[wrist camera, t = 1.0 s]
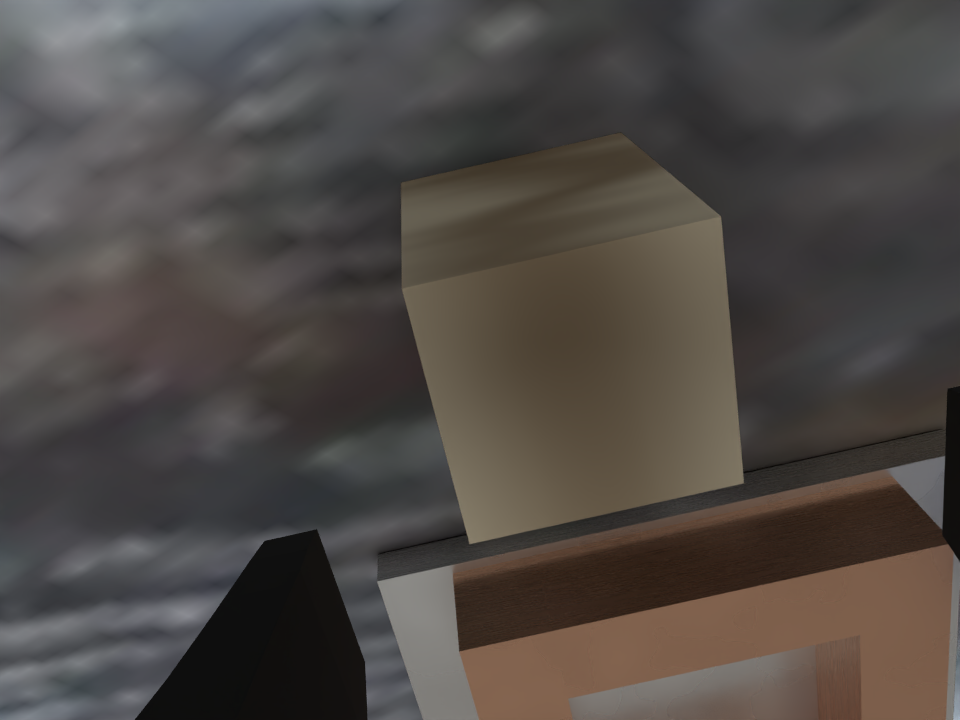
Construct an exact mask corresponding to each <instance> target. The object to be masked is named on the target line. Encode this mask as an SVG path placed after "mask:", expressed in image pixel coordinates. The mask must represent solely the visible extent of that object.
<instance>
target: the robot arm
mask: <svg viewBox="0 0 960 720" xmlns="http://www.w3.org/2000/svg"><path fill="white" fill-rule="evenodd" d="M942 535H943V537H944V539H945V540H946V542H947V543H948V545H949V546H950V548H951V549H952V551H953V552H954V554H955V555H956V557H957V558H958V560H959V562H960V386H958V387H954V388H949V389H948V392H947V418H946V445H945V471H944V498H943V524H942ZM135 720H367V697H366V676H365V661H364V658H363V655H362V653H361V650H360V647H359V644H358V642H357V639H356V636H355V633H354V631H353V628H352V625H351V622H350V619H349V617H348V614H347V611H346V608H345V606H344V603H343V600H342V597H341V595H340V592H339V589H338V586H337V583H336V581H335V578H334V575H333V572H332V570H331V567H330V564H329V561H328V559H327V556H326V553H325V550H324V547H323V545H322V542H321V539H320V536H319V534H318V531H317V529H316V530H312V531H308V532H303V533H299V534H294V535H290V536H285V537H281V538H276V539H272V540H267V541H264V542H263V544H262V545H261V547H260V548H259V549H258V551H257V552H256V553H255V555H254V556H253V558H252V559H251V560H250V562H249V563H248V565H247V566H246V568H245V569H244V570H243V572H242V573H241V575H240V576H239V578H238V579H237V581H236V582H235V584H234V585H233V586H232V588H231V589H230V591H229V592H228V594H227V595H226V597H225V598H224V599H223V601H222V602H221V604H220V605H219V607H218V608H217V610H216V611H215V612H214V614H213V615H212V617H211V618H210V620H209V621H208V622H207V624H206V625H205V627H204V628H203V630H202V631H201V632H200V634H199V635H198V637H197V638H196V639H195V641H194V642H193V643H192V645H191V646H190V648H189V649H188V650H187V652H186V653H185V655H184V656H183V657H182V659H181V660H180V662H179V663H178V664H177V666H176V667H175V669H174V670H173V671H172V673H171V674H170V675H169V677H168V678H167V680H166V681H165V682H164V684H163V685H162V686H161V687H160V689H159V690H158V691H157V692H156V694H155V695H154V696H153V697H152V699H151V700H150V701H149V703H148V704H147V705H146V706H145V708H144V709H143V710H142V711H141V713H140V714H139V715H138V716H137V718H136V719H135Z"/></svg>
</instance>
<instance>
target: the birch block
mask: <svg viewBox="0 0 960 720" xmlns="http://www.w3.org/2000/svg"><path fill="white" fill-rule="evenodd" d="M401 255H402V292H403V295H404V299H405V303H406V307H407V310H408V314H409V318H410V322H411V325H412V329H413V333H414V337H415V340H416V344H417V348H418V352H419V355H420V359H421V363H422V367H423V370H424V374H425V378H426V382H427V386H428V389H429V393H430V397H431V401H432V404H433V408H434V412H435V416H436V419H437V423H438V427H439V431H440V434H441V438H442V442H443V446H444V449H445V453H446V457H447V461H448V465H449V468H450V472H451V476H452V480H453V483H454V487H455V491H456V495H457V498H458V502H459V506H460V510H461V513H462V517H463V521H464V525H465V528H466V532H467V536H468V540H469V544H473V543H477V542H482V541H486V540H491V539H495V538H500V537H504V536H509V535H513V534H518V533H522V532H527V531H531V530H536V529H540V528H545V527H549V526H554V525H558V524H563V523H567V522H572V521H576V520H581V519H585V518H590V517H594V516H599V515H603V514H608V513H612V512H617V511H621V510H626V509H630V508H635V507H639V506H644V505H648V504H653V503H657V502H662V501H666V500H671V499H675V498H680V497H684V496H689V495H693V494H698V493H702V492H707V491H712V490H716V489H721V488H725V487H730V486H734V485H739V484H743V483H744V477H743V466H742V454H741V442H740V431H739V419H738V407H737V396H736V384H735V372H734V361H733V349H732V337H731V326H730V314H729V303H728V291H727V279H726V268H725V256H724V244H723V233H722V221H721V216H720V215H719V214H718V213H716V212H715V211H714V210H713V209H712V208H710V207H709V206H708V205H707V204H706V203H704V202H703V201H702V200H701V199H700V198H698V197H697V196H696V195H695V194H694V193H693V192H691V191H690V190H689V189H688V188H687V187H685V186H684V185H683V184H682V183H681V182H679V181H678V180H677V179H676V178H675V177H673V176H672V175H671V174H670V173H669V172H667V171H666V170H665V169H664V168H663V167H662V166H660V165H659V164H658V163H657V162H656V161H654V160H653V159H652V158H651V157H650V156H648V155H647V154H646V153H645V152H644V151H642V150H641V149H640V148H639V147H638V146H636V145H635V144H634V143H633V142H632V141H631V140H629V139H628V138H627V137H626V136H625V135H623V134H622V133H617V134H612V135H608V136H604V137H599V138H595V139H590V140H586V141H582V142H577V143H573V144H568V145H564V146H560V147H555V148H551V149H546V150H542V151H538V152H533V153H529V154H524V155H520V156H516V157H511V158H507V159H503V160H498V161H494V162H489V163H485V164H481V165H476V166H472V167H467V168H463V169H459V170H454V171H450V172H445V173H441V174H437V175H432V176H428V177H424V178H419V179H415V180H410V181H406V182H402V183H401Z"/></svg>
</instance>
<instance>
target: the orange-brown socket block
mask: <svg viewBox="0 0 960 720" xmlns="http://www.w3.org/2000/svg"><path fill="white" fill-rule="evenodd" d="M945 445H946V432H945V431H943V430H938V431H933V432H929V433H924V434H920V435H915V436H911V437H906V438H902V439H897V440H893V441H888V442H884V443H879V444H875V445H870V446H866V447H861V448H857V449H852V450H848V451H843V452H839V453H834V454H830V455H825V456H821V457H816V458H812V459H807V460H803V461H798V462H794V463H789V464H785V465H780V466H775V467H771V468H766V469H762V470H757V471H753V472H748V473H744V474H743V477H744V483H743V484H739V485H734V486H730V487H725V488H721V489H716V490H712V491H707V492H702V493H698V494H693V495H689V496H684V497H680V498H675V499H671V500H666V501H662V502H657V503H653V504H648V505H644V506H639V507H635V508H630V509H626V510H621V511H617V512H612V513H608V514H603V515H599V516H594V517H590V518H585V519H581V520H576V521H572V522H567V523H563V524H558V525H554V526H549V527H545V528H540V529H536V530H531V531H527V532H522V533H518V534H513V535H509V536H504V537H500V538H495V539H491V540H486V541H482V542H477V543H473V544H469V540H468V536H467V535H464V536H460V537H455V538H450V539H446V540H441V541H437V542H432V543H428V544H423V545H419V546H414V547H410V548H405V549H401V550H396V551H392V552H387V553H383V554H378V574H377V582H378V585H379V588H380V591H381V594H382V597H383V600H384V603H385V606H386V609H387V612H388V615H389V618H390V621H391V624H392V627H393V630H394V633H395V636H396V639H397V642H398V645H399V648H400V651H401V654H402V657H403V660H404V663H405V666H406V669H407V672H408V675H409V678H410V681H411V684H412V687H413V690H414V693H415V696H416V699H417V702H418V705H419V708H420V711H421V714H422V717H423V720H953V711H954V691H955V671H956V652H957V632H958V612H959V593H960V562H959V560H958V558H957V557H956V555H955V554H954V552H953V551H952V549H951V548H950V546H949V545H948V543H947V542H946V540H945V539H944V537H943V535H942V524H943V498H944V471H945Z"/></svg>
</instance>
